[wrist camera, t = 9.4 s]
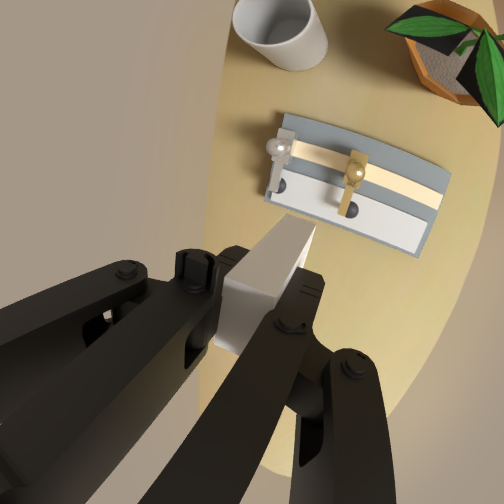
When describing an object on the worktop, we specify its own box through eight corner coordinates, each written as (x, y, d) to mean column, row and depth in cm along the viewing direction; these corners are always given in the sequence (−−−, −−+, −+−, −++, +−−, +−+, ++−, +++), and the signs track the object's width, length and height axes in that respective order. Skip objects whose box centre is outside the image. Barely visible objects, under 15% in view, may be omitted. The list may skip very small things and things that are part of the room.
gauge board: (288, 114, 33) (282, 112, 30) (447, 171, 28) (454, 174, 25) (268, 198, 38) (261, 202, 36) (415, 252, 33) (419, 261, 31)
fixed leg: (283, 128, 31) (270, 126, 27) (298, 132, 31) (288, 131, 26) (269, 186, 35) (255, 193, 30) (284, 190, 34) (271, 199, 30)
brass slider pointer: (352, 149, 29) (351, 150, 24) (368, 154, 29) (370, 156, 24) (334, 208, 33) (329, 219, 28) (349, 213, 32) (347, 226, 28)
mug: (316, 80, 30) (298, 57, 20) (257, 63, 31) (219, 40, 22) (343, 10, 24) (334, -31, 14) (284, -4, 25) (256, -42, 16)
